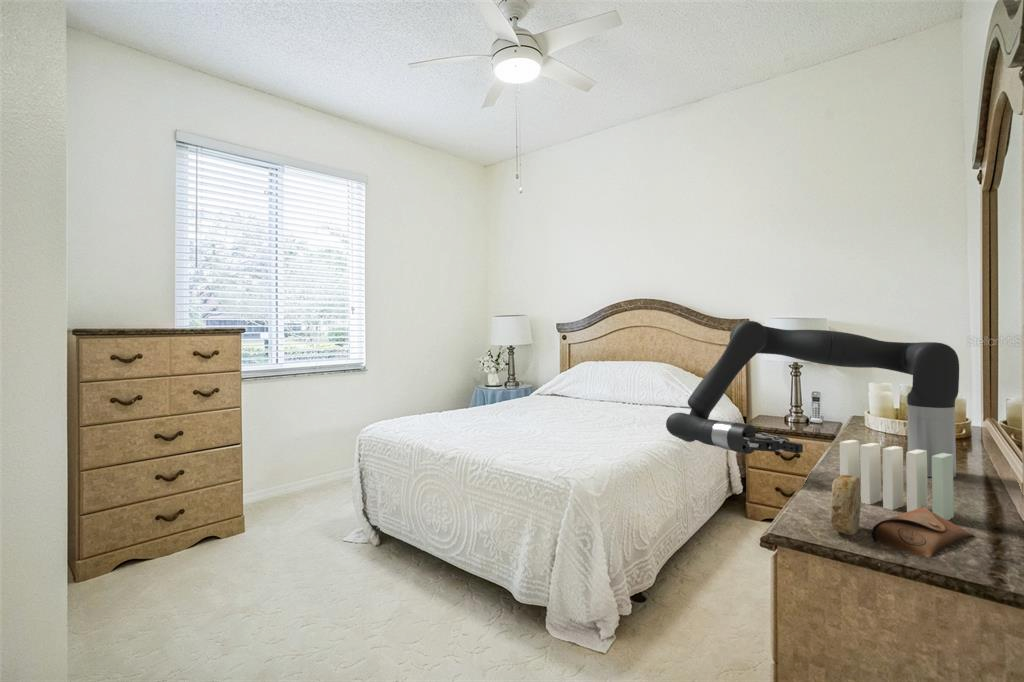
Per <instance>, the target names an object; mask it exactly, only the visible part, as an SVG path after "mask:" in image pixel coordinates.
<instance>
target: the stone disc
mask: <svg viewBox="0 0 1024 682" xmlns="http://www.w3.org/2000/svg"><path fill="white" fill-rule="evenodd" d="M861 504H862V503H861V479H860V480H859V478H858V477H856V476H852V475H841V476H840V475H839V476H837V477H835V479H834V480H833V481H832V485H831V498H830V509H829V510H830V511H829V518H830V524H831V529H832V530H834V531H836V532H839V533H843V534H845V535H849V536H853V535H854V536H855V535H856V534H857V533H858V531H859V526H860V516H861V508H862V505H861Z"/></svg>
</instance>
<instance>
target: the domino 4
mask: <svg viewBox="0 0 1024 682" xmlns="http://www.w3.org/2000/svg"><path fill="white" fill-rule="evenodd" d="M905 456H906V457H905V461H906V463H905V464H906V465H905V466H906V468H905V469H906V476H905V477H906V512H909V511H912V510H915V509H918V508H920V507H921V506H925V507H926V508H927V509H928V510H929V507H928V505H929V501H928V500H929V499H928V497H929V495H928V494H929V493H928V476H927V451H926V450H919V449H916V450H913V451H909V452H908V451H906V452H905Z"/></svg>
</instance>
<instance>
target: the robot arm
mask: <svg viewBox="0 0 1024 682" xmlns="http://www.w3.org/2000/svg"><path fill="white" fill-rule="evenodd" d="M756 354H763V355H764V354H765V355H779V356H784V357H787V358H788V357H789V358H793V359H795V360H796V359H797V360H800V361H805V362H808V363H815V364H819V365H820V364H821V365H826V366H834V367H844V368H855V369H856V368H858V369H860V368H865V369H866V368H868V369H869V368H873V369H883V370H889V371H894V372H899V373H901V374H902V373H903V374H907V375H909V376H912V385H911V386H912V387H911V390H910V391H909V392H908V394H907V395H906V398H907V399H906V403H907V404H906V406H907V409H906V410H907V411H906V413H907V452H909V451H913V450H916V449H919V450H926V451H927V477H931V478H932V456H934V455H937V454H940V453H946V454H953V478H956V477H957V471H956V470H957V467H956V465H957V463H956V462H957V459H956V457H957V455H956V453H957V452H956V451H957V450H956V448H957V447H956V445H957V444H956V399H957V397H958V395H959V392H960V390H959V389H960V387H959V385H960V360H959V357H958V354H957V352H956V351H955V349H954V348H953V347H951V346H950V345H949V344H946V343H942V342H937V341H935V342H932V341H930V342H928V341H927V342H926V341H924V342H902V341H901V342H897V341H884V340H879V339H875V338H872V337H871V338H870V337H867V336H864V335H859V334H854V333H849V332H843V331H834V330H826V329H825V330H823V329H782V328H776V327H772V326H770V327H769V326H765V325H763V324H761V323H760V322H757V321H754V320H745V321H741V322H740V323H737V324H736V325H735V326H734V327H733V328H732V329H731V332H730V334H729V341H728V344H727V346H726V347H725V350H724V352H723V353H722V355H721V356H720V358H719V359H718V360H717V362H716V363H715V364H714V365H713V366H712V368H711V369H710V370H709V371H708V372H707V374H706V375H704V377H703V379H702V380H701V381H700V382H699V384H697V386H696V387H695V389H694V390H693V392H692V394H691V395H690V396H689V398H688V399H687V405H688V406H689V407H690V413H685V412H675V413H672V414H670V415H669V416H668V417H667V418H666V422H665V427H666V430H667V432H668V433H669V434H670V435H672V436H673V437H674V438H678V439H679V440H682V441H684V442H686V443H692V442H695V441H698V442H699V443H702V444H705V445H708V446H714V447H718V448H721V449H723V450H728V451H733V452H737V453H740V454H745V455H750V454H753V453H754V452H755V451H761V452H772V453H777V452H780V453H781V452H788V453H793V454H802V453H803V451H804V445H803V444H802V443H800V442H794V441H790V439H789V438H787V437H785V436H783V435H780V434H775V435H771V434H769V433H767V432H760V433H759V431H758V429H757V428H756V427H755V425H752V424H748V423H747V424H746V423H742V422H736V421H735V422H734V421H729V420H717V419H716V420H715V419H709V418H710V414H711V412H712V411H713V409H714V408H715V407H716V405H718V403H719V401H720V400H721V398H723V396H724V394H725V393H726V391H728V389H729V387H730V385H731V384H732V383H733V380H734V379H735V378H736V377H737V375H738V374H739V373H740V371H742V369H743V368H744V367H745V366H746V364H748V363H749V362H750V361H751V360H752V359H753V358H754V357H755V356H756Z"/></svg>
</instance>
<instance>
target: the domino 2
mask: <svg viewBox="0 0 1024 682" xmlns="http://www.w3.org/2000/svg"><path fill="white" fill-rule="evenodd" d="M859 463H860V502H861V504H864V503H865V505H868V504H869V505H870V504H871V505H873V504H876V503H878V501H879V502H881V501H882V486H881V485H882V483H881V481H882V478H881V477H882V476H881V474H882V473H881V471H882V470H881V469H882V468H881V466H882V465H881V443H878V442H877V443H876V442H868V443H864V444H859Z"/></svg>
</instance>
